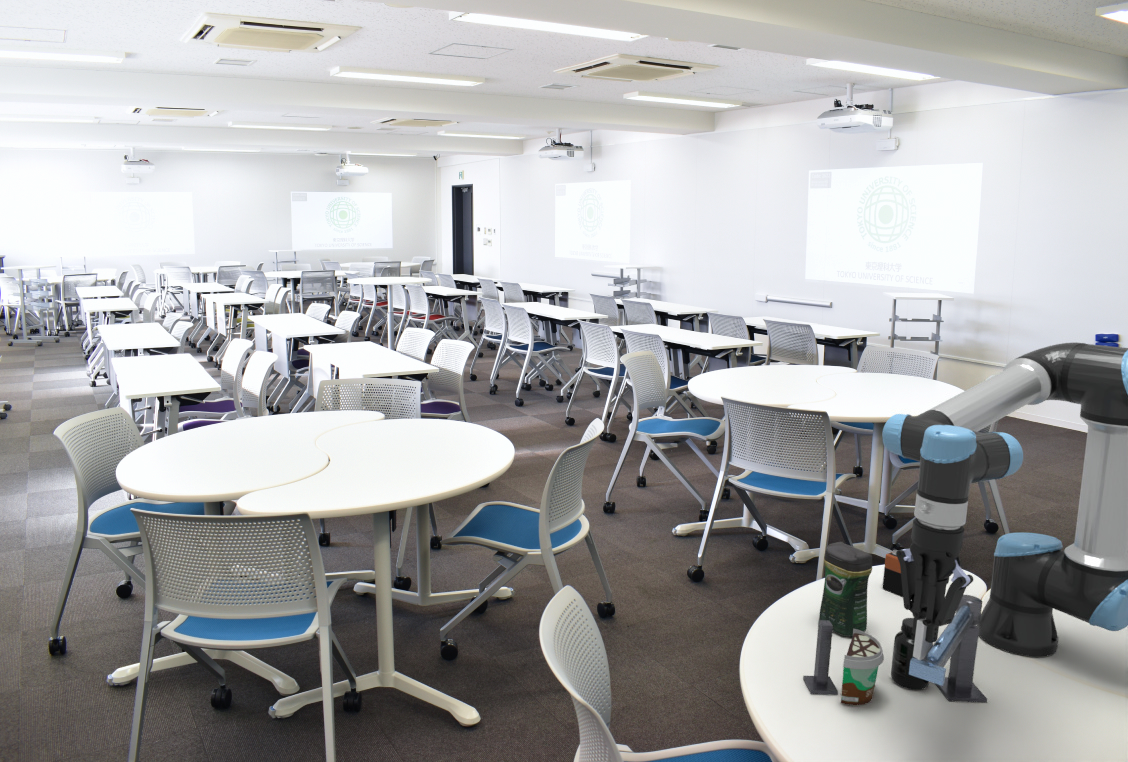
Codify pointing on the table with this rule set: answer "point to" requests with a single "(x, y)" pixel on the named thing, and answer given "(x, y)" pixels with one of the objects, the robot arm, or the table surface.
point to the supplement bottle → (905, 658)
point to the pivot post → (963, 671)
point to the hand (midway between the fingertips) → (922, 656)
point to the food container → (861, 669)
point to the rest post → (822, 663)
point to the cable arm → (947, 642)
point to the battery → (892, 574)
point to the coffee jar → (845, 588)
